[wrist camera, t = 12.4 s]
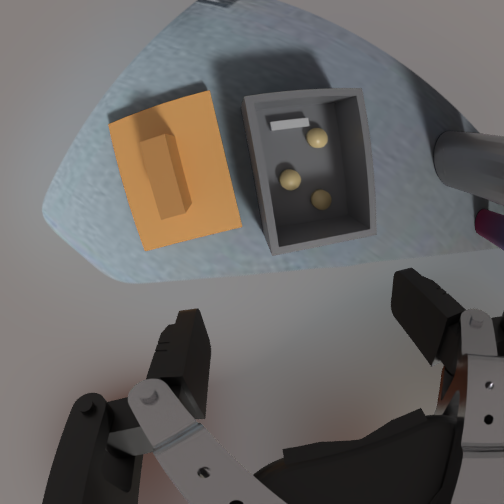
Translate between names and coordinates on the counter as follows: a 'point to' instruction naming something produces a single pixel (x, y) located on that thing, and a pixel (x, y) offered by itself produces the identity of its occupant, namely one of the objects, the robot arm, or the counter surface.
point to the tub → (311, 166)
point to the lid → (175, 171)
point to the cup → (491, 227)
